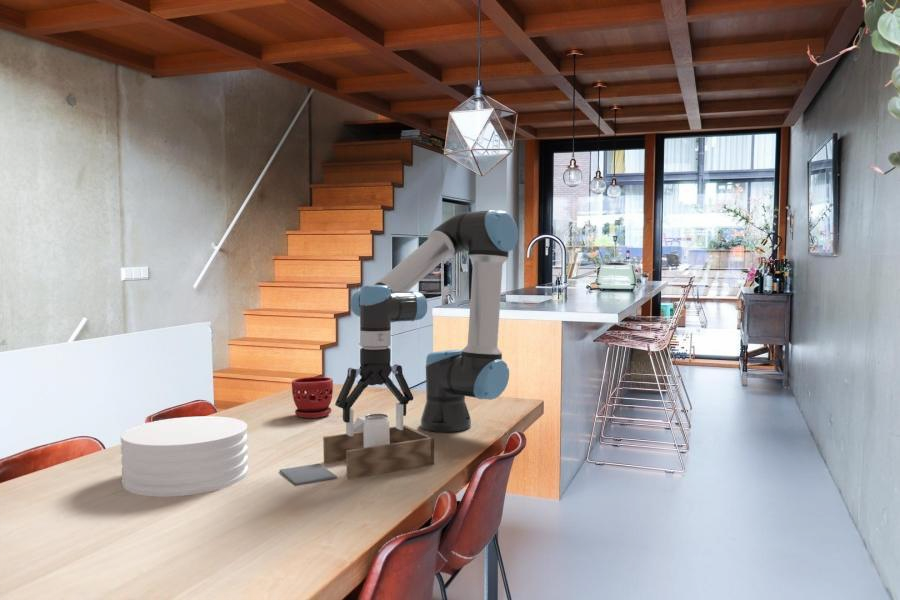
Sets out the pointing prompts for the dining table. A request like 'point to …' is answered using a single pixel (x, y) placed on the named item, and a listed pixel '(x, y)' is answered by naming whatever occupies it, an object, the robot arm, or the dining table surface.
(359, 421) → the die
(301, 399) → the plant pot
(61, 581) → the dining table surface
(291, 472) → the slate mat
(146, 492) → the plate stack
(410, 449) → the walnut u-shaped enclosure
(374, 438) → the can
